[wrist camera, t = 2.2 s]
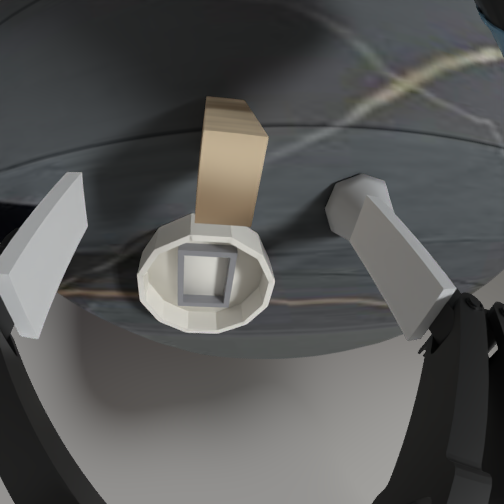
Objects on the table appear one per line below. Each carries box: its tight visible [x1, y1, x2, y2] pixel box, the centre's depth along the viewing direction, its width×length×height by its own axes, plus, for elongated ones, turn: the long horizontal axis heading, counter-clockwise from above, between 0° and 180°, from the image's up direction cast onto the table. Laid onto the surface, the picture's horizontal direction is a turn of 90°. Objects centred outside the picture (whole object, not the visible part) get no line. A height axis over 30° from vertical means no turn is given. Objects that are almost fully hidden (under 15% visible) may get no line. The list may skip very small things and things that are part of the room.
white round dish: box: [137, 213, 275, 334], centre depth 31 cm, size 13×13×4 cm
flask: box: [325, 174, 394, 240], centre depth 26 cm, size 7×7×10 cm
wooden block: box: [195, 96, 269, 227], centre depth 19 cm, size 5×3×11 cm, turn 171°
